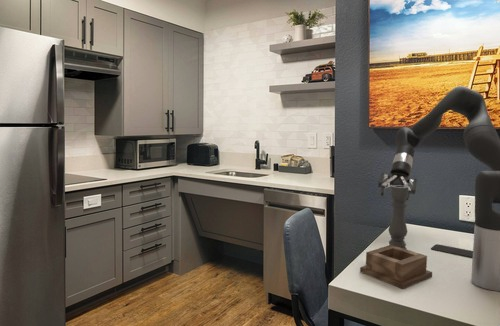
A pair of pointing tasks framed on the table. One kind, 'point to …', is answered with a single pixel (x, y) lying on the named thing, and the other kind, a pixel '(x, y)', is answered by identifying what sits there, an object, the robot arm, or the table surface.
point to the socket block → (396, 266)
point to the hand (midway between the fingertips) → (393, 197)
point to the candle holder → (398, 216)
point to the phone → (453, 250)
